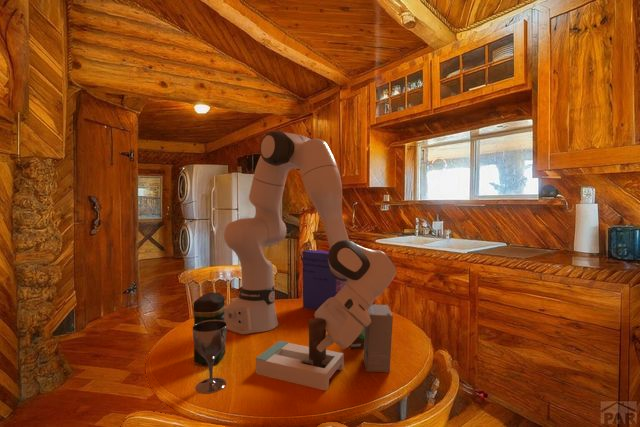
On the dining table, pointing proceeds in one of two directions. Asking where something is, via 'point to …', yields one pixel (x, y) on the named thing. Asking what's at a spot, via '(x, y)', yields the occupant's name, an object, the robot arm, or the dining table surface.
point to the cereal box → (318, 279)
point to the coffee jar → (208, 318)
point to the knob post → (316, 335)
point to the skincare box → (378, 339)
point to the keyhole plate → (298, 365)
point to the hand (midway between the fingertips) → (315, 344)
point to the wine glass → (210, 350)
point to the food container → (359, 340)
